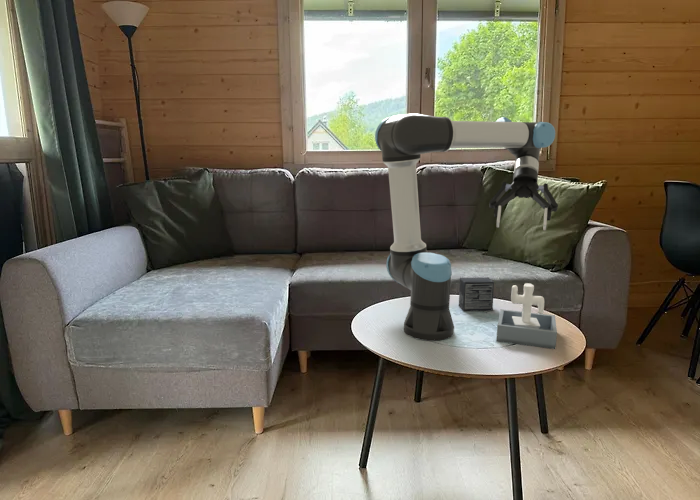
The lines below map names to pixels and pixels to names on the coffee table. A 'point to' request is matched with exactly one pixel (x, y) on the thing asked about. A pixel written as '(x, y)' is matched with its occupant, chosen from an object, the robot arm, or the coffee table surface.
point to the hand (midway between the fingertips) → (520, 226)
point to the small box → (476, 294)
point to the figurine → (527, 306)
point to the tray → (527, 330)
